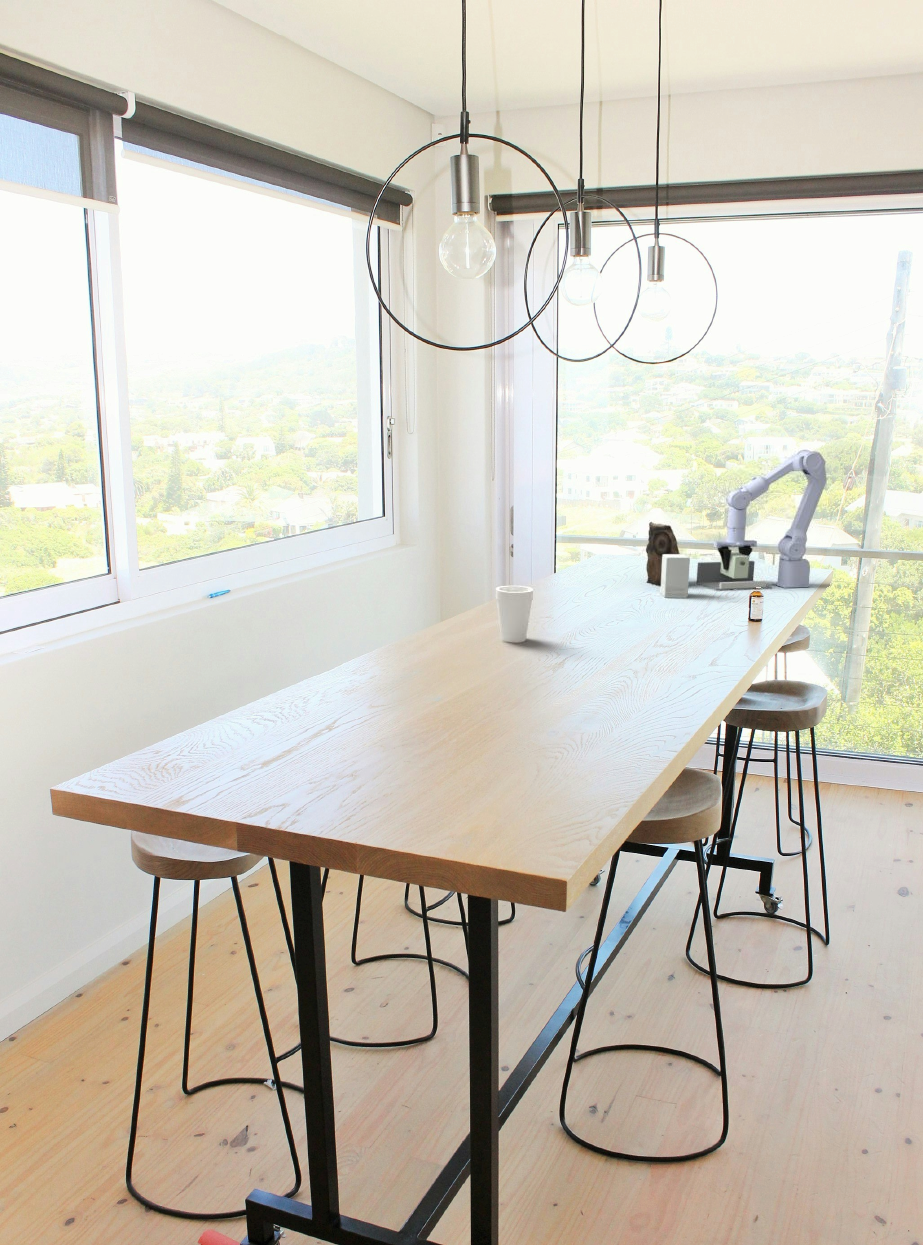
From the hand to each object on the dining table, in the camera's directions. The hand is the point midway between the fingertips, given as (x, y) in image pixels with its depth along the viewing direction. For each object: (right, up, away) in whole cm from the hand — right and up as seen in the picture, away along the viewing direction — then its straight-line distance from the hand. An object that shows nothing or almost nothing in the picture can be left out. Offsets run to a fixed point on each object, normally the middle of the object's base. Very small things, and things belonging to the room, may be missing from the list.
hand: (733, 569), depth 334 cm
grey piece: (0, -5, 0) cm, 5 cm away
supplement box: (-23, -9, -17) cm, 30 cm away
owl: (-21, -5, +4) cm, 22 cm away
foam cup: (-76, -22, -76) cm, 109 cm away
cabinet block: (0, -2, 0) cm, 2 cm away
